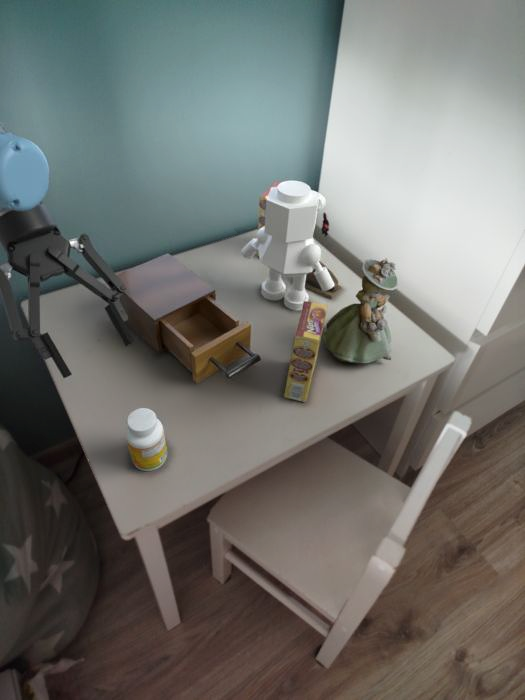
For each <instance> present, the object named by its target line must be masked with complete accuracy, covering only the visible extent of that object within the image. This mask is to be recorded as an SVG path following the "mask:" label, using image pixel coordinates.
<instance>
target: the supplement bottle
mask: <svg viewBox="0 0 525 700" xmlns="http://www.w3.org/2000/svg"><path fill="white" fill-rule="evenodd" d="M126 423H127V425H126V427H125V432H124V436H125V440H126V445H127V447H128V451H129V454H130V458H131V461H132V464H133V466H134V467H135V468H137V469H138V470H140V471H144V472H150V471H155V470H157V469H159V468H160V467H162V465H163V464H164V463H165V462H166V460H167V458H168V447H167V442H166V437H165V436H166V435H165V430H164V426H163V424H162V422H161V420H160V419H158V418H157V415H156V413H155V412H154V411H153V410H152V409H150V408H147V407H140V408H136V409H134V410H133V411H132V412H130V413H129V414H128V416H127V421H126Z"/></svg>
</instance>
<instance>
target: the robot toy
mask: <svg viewBox="0 0 525 700" xmlns="http://www.w3.org/2000/svg"><path fill="white" fill-rule="evenodd" d="M280 182H281V181H280ZM270 187H271V186H270ZM326 205H327V200H326V197H325V196H324V195H323V194H321V192H318V191H316V190H313V189H312V188H311V187H310V184H309V185H308V184H307V183H305V182H303V181H300V180H291V179H290V180H285V181H282V182H281V183H280V184H279V185H278V187H271V190H270V192H269V194H268V197H267V199H266V214H265V226H264V227H262V228H260V229H259V231H257V233H256V238H255V237H253V238H252V239H251V240H249V242H248V243H247V244H245V246H243V247H242V249H241V255H242V256H243V257H244V258H245V259H248V260H249V259H250V260H251V258H252V257H253V256H254V255H256V254H257V252H258V251H259V256H258V257H259V258H258V259H259V262H260V263H261V264H263V265H264V266H267V267H268V268H269V273H268V278H267V279H266V280H264V281H262V283H261V295H262V297H263V298H264V299H266V300H269V301H280V300H282V299H283V304H284V306H285V307H286V308H287V309H289V310H291V311H297V312H299V311H300V312H301V311H302V307H303V302H304V301H307V302H310V301H309V300H310V295H309V293H308V292H307V290H306V288H305V281H306V274H308V273H309V272H312V271H313V269H314V268H315V270H316V271H315V272H314V275H315V277H316V278H317V280H318V282H319V284H320V286H321V288H322V290H323V291H327V290H329V289H331V288H332V287H334V285H335V284H334V282H333V280H332V278H331V276H330V274H329V272H328V270H327V268H328V267H327V266H326V267H327V268H326V267H322V266H321V264H320V263H319V261H320V262H321V258H322V249H321V247H320V246H319V245H318V244H316V243H315V240H314V232H315V228H316V222H317V216H318V212H320V211H322V210H323V209H324V208H325V206H326ZM282 276H284V277H289V278H292V285H291V287H290V288H289V289H288V290H286V289H287V285H286V283H285V282H284V281H283V279H282Z"/></svg>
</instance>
